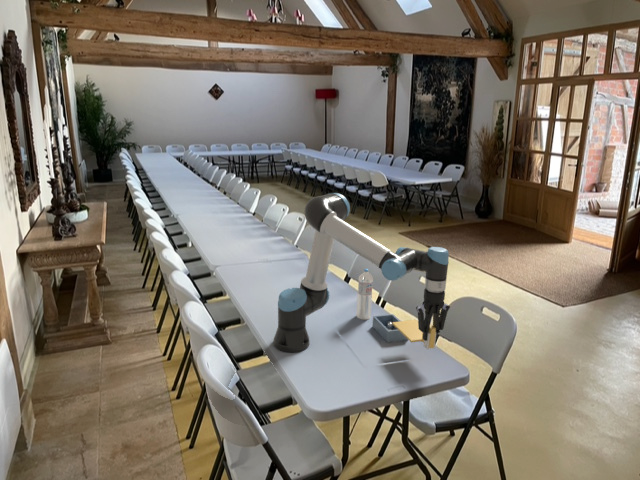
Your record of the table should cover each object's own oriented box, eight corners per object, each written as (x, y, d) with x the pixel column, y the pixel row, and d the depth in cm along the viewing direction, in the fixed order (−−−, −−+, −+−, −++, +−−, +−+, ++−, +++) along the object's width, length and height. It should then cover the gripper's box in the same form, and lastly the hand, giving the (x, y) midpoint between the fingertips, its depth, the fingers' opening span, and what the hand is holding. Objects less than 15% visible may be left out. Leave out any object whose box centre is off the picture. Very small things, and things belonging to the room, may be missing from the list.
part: (391, 330, 215) (391, 324, 214) (385, 329, 216) (386, 323, 215) (394, 328, 217) (394, 322, 216) (388, 326, 218) (388, 320, 217)
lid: (419, 349, 176) (420, 330, 174) (392, 324, 197) (393, 306, 195) (444, 346, 179) (446, 327, 177) (415, 321, 200) (416, 303, 198)
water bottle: (359, 321, 224) (362, 272, 218) (354, 315, 231) (357, 267, 224) (372, 320, 226) (375, 271, 220) (367, 314, 233) (370, 266, 226)
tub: (387, 344, 204) (388, 331, 202) (372, 328, 218) (373, 316, 217) (408, 341, 207) (409, 329, 205) (391, 325, 221) (392, 314, 220)
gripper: (421, 294, 168) (416, 354, 174) (458, 291, 172) (451, 349, 178) (411, 287, 175) (406, 344, 181) (446, 284, 179) (441, 340, 185)
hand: (429, 347), depth 180 cm, fingers closed on lid, 2 cm apart
